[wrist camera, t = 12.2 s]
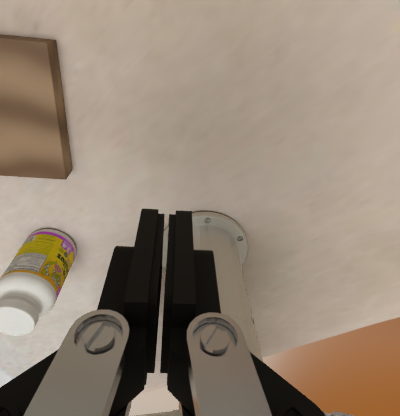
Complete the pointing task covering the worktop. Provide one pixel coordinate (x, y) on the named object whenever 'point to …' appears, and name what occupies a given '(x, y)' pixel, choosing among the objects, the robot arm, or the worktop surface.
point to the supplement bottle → (34, 280)
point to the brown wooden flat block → (32, 110)
